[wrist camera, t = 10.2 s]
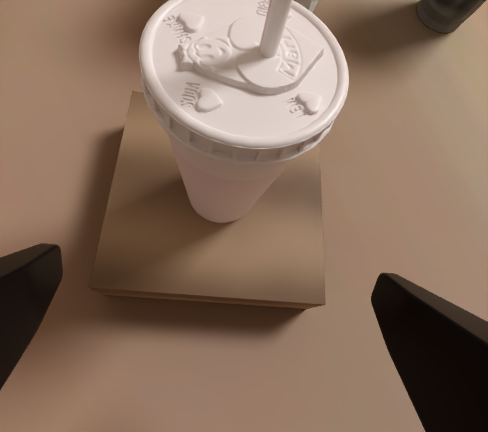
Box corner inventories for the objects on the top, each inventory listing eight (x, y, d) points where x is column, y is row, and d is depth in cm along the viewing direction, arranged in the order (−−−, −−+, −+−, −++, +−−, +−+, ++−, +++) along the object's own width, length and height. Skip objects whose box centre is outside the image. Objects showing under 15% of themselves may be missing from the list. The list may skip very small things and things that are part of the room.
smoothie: (287, 236, 18) (529, -20, 5) (172, 256, 17) (105, -24, 4) (261, 139, 20) (387, -219, 7) (156, 150, 19) (78, -269, 6)
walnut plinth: (306, 309, 20) (325, 304, 17) (104, 294, 18) (88, 287, 16) (304, 143, 24) (318, 118, 21) (139, 121, 23) (132, 90, 20)
